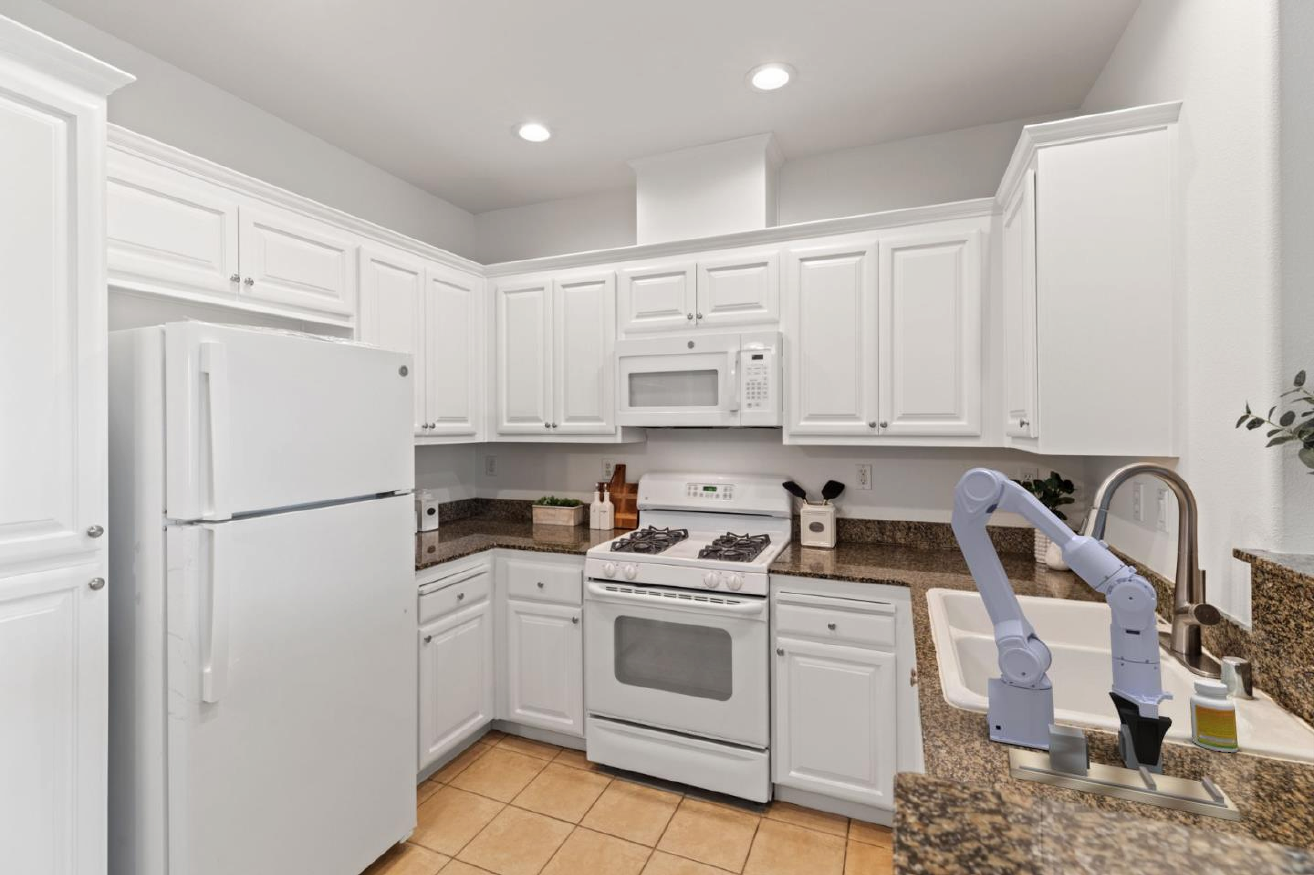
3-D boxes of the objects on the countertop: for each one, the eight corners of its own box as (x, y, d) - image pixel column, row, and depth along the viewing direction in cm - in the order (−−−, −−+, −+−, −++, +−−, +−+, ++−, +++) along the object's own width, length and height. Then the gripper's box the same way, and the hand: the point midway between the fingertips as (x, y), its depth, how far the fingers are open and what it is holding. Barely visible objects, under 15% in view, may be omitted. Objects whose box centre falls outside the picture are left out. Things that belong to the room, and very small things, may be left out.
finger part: (1124, 767, 89) (1122, 731, 89) (1118, 757, 92) (1116, 723, 93) (1162, 774, 87) (1160, 738, 87) (1155, 764, 90) (1153, 728, 91)
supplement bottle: (1247, 755, 94) (1242, 689, 95) (1206, 751, 95) (1202, 686, 96) (1222, 741, 99) (1218, 679, 100) (1184, 738, 100) (1180, 677, 101)
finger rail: (1011, 776, 85) (1009, 730, 86) (1009, 756, 92) (1007, 713, 93) (1240, 822, 74) (1236, 768, 75) (1218, 794, 81) (1214, 745, 82)
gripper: (1184, 674, 83) (1191, 780, 81) (1157, 651, 95) (1162, 742, 94) (1119, 667, 86) (1125, 768, 85) (1101, 645, 99) (1106, 733, 97)
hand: (1141, 754), depth 90 cm, fingers open, 7 cm apart
